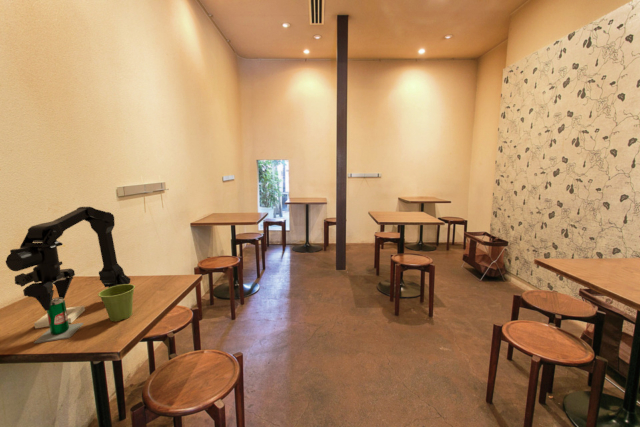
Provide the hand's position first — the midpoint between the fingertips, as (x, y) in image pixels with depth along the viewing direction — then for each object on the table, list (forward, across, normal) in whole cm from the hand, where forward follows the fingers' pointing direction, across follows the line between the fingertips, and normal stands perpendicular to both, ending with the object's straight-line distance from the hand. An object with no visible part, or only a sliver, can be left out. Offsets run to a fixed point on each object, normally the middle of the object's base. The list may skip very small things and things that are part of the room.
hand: (55, 304), depth 104 cm
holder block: (+11, -13, -5) cm, 18 cm away
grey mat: (+11, 0, 0) cm, 11 cm away
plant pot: (+11, -6, +17) cm, 21 cm away
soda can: (+10, 0, 0) cm, 11 cm away
